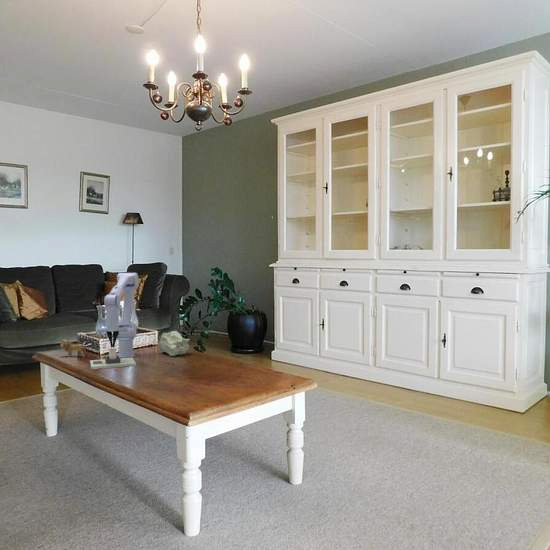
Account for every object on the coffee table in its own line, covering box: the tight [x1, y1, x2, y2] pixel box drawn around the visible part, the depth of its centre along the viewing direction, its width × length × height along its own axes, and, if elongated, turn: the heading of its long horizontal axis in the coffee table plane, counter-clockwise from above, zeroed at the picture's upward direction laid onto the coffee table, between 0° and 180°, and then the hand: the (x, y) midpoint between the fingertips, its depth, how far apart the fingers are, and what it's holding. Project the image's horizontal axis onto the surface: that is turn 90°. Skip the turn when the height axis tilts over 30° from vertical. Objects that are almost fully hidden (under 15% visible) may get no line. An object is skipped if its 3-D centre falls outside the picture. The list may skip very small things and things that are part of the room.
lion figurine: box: [60, 339, 90, 358], centre depth 254 cm, size 15×5×9 cm, turn 93°
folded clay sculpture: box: [158, 330, 191, 357], centre depth 262 cm, size 18×13×16 cm
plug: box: [108, 347, 117, 359], centre depth 237 cm, size 5×3×6 cm, turn 23°
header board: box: [89, 355, 137, 370], centre depth 237 cm, size 15×20×3 cm
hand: (112, 347), depth 236 cm, fingers closed
